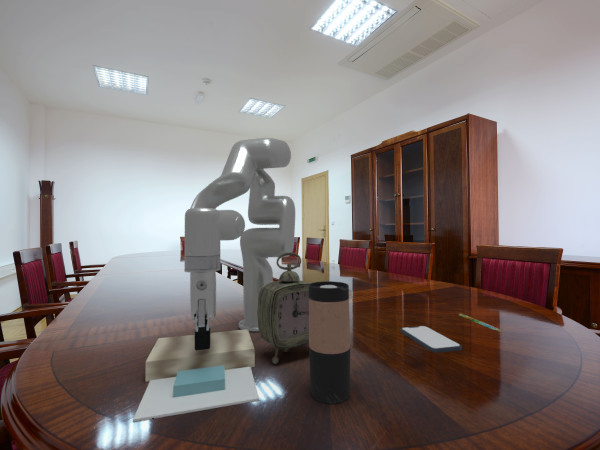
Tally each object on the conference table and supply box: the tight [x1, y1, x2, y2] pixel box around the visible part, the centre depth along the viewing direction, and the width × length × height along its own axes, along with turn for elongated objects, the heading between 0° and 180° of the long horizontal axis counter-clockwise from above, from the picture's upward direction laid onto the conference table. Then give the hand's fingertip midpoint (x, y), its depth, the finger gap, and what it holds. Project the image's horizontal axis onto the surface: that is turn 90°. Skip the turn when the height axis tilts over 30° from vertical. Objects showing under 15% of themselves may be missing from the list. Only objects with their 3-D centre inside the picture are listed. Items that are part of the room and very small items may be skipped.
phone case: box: [400, 325, 463, 354], centre depth 80 cm, size 9×2×16 cm
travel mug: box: [308, 280, 351, 405], centre depth 54 cm, size 8×8×20 cm
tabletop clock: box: [257, 252, 312, 365], centre depth 72 cm, size 14×9×25 cm, turn 122°
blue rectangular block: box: [173, 365, 225, 397], centre depth 56 cm, size 9×6×2 cm, turn 106°
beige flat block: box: [145, 329, 256, 383], centre depth 69 cm, size 22×14×4 cm, turn 106°
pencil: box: [458, 313, 503, 333], centre depth 94 cm, size 1×1×18 cm
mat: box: [132, 367, 260, 423], centre depth 55 cm, size 20×13×1 cm, turn 106°
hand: (202, 348), depth 63 cm, fingers closed
